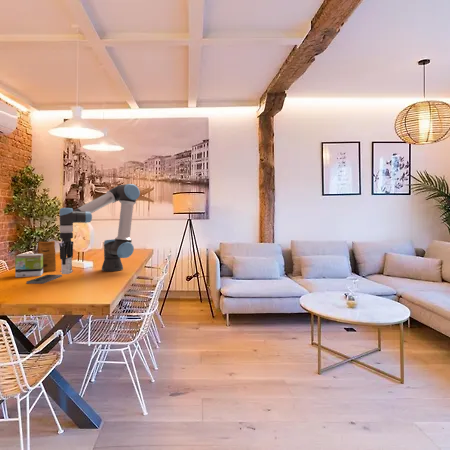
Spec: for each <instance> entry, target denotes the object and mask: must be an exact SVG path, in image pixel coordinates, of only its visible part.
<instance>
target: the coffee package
mask: <svg viewBox="0 0 450 450" xmlns="http://www.w3.org/2000/svg"><path fill="white" fill-rule="evenodd" d="M55 245H56V243H55V241H54V240H52V241H38V246H37V253H36V254H43V273H44V272H46V271H50V272H55V271H56V270H57V262H56V246H55Z"/></svg>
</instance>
